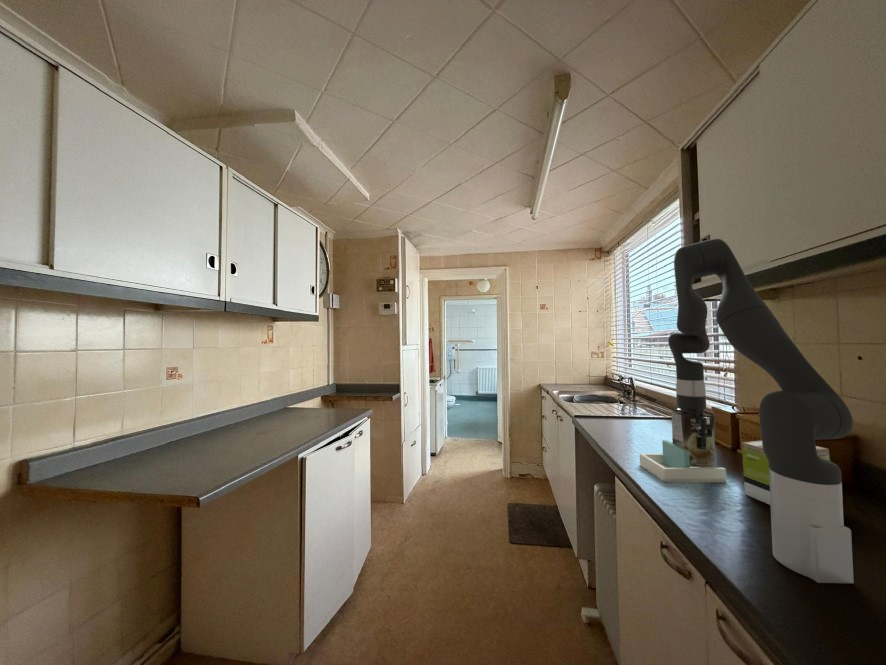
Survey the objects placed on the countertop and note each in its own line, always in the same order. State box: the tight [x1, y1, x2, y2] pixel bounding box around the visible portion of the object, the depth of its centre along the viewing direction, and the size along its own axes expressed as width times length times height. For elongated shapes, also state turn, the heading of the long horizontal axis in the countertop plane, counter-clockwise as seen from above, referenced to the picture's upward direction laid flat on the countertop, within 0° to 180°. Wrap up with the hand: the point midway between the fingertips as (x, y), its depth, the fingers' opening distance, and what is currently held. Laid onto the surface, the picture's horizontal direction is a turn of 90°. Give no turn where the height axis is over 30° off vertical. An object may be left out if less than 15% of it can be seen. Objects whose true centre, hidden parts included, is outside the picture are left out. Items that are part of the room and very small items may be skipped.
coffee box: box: [671, 410, 717, 468], centre depth 102 cm, size 9×6×16 cm
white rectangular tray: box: [639, 453, 727, 483], centre depth 102 cm, size 13×18×4 cm
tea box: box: [741, 439, 831, 506], centre depth 85 cm, size 15×10×15 cm
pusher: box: [661, 439, 690, 468], centre depth 102 cm, size 10×2×8 cm, turn 177°
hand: (693, 445), depth 102 cm, fingers closed on coffee box, 6 cm apart
